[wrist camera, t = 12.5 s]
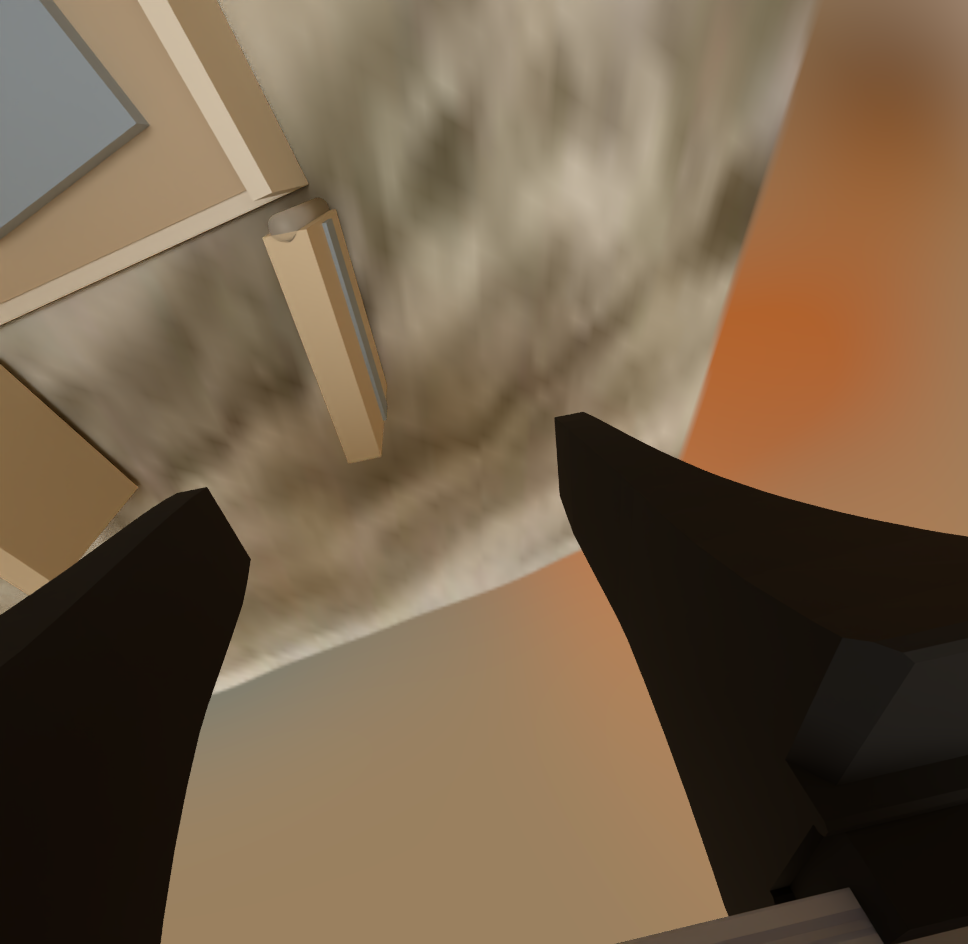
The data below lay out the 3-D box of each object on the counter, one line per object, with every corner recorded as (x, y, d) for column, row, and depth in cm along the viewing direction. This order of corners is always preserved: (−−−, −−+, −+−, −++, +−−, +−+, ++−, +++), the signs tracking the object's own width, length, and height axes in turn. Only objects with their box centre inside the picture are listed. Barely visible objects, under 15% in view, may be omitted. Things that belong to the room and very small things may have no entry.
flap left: (-44, 362, 16) (-222, 441, 11) (-18, 348, 16) (-187, 422, 11) (116, 497, 20) (30, 598, 15) (138, 487, 20) (57, 586, 15)
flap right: (300, 200, 15) (254, 217, 10) (334, 194, 15) (304, 208, 10) (362, 389, 19) (348, 463, 14) (389, 384, 19) (384, 456, 14)
